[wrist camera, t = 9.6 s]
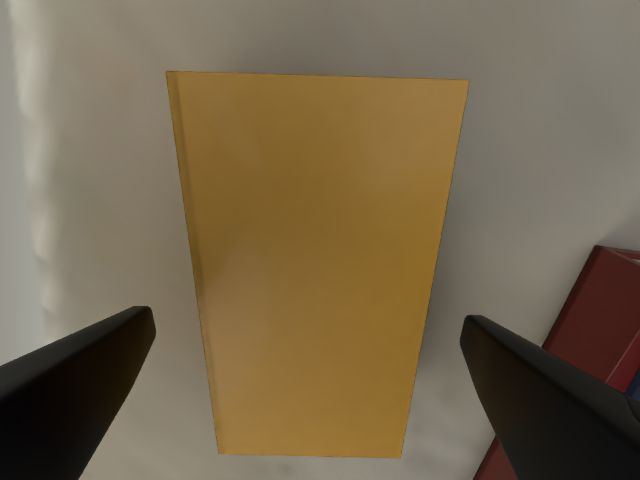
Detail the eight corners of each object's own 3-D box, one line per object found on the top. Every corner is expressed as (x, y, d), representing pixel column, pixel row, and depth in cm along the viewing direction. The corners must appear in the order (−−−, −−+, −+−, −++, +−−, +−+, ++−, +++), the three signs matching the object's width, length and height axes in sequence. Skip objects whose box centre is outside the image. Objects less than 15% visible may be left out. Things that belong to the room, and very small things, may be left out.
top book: (385, 394, 15) (400, 458, 12) (237, 390, 15) (218, 454, 12) (428, 90, 10) (470, 79, 7) (208, 83, 10) (164, 70, 7)
